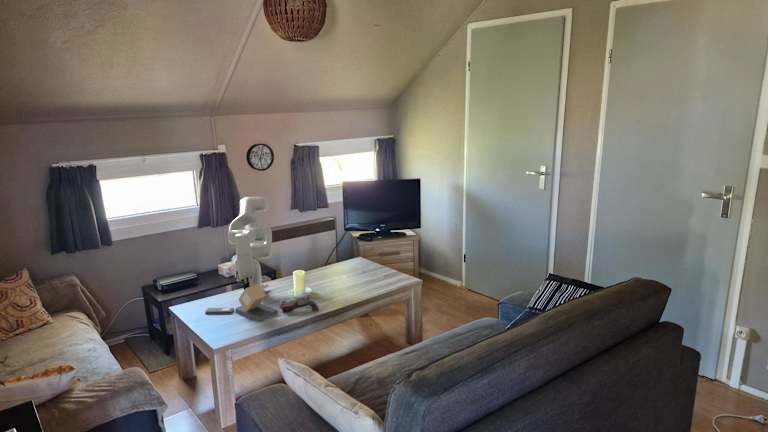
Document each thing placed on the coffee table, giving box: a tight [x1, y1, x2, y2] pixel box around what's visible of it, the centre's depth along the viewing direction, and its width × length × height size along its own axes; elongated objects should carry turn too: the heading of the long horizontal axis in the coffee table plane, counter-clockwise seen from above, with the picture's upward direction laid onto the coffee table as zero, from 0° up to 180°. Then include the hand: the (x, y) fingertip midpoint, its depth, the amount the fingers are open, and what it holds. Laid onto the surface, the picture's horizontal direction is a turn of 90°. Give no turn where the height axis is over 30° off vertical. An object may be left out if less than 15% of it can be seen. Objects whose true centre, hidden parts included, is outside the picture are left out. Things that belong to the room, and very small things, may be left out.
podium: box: [234, 303, 279, 323], centre depth 261 cm, size 12×20×2 cm, turn 53°
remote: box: [205, 307, 235, 315], centre depth 263 cm, size 14×4×2 cm, turn 89°
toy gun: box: [279, 295, 320, 313], centre depth 262 cm, size 4×20×10 cm, turn 95°
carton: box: [237, 284, 267, 312], centre depth 258 cm, size 8×8×11 cm
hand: (246, 289), depth 258 cm, fingers closed
